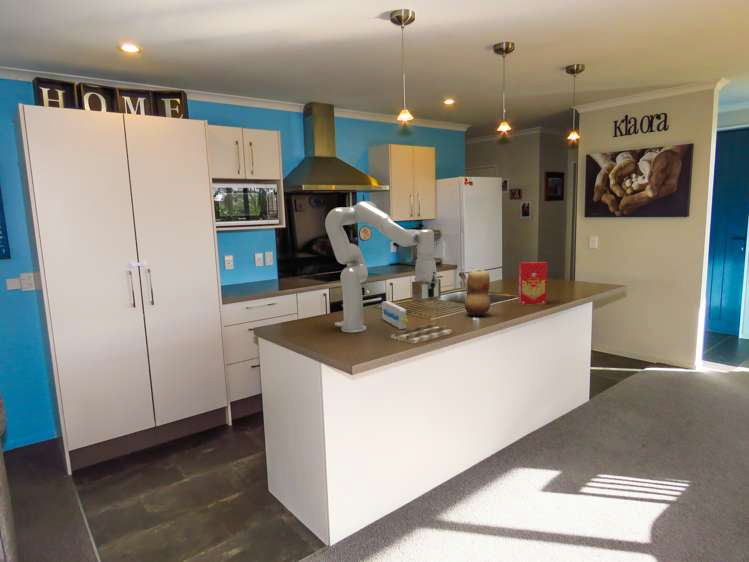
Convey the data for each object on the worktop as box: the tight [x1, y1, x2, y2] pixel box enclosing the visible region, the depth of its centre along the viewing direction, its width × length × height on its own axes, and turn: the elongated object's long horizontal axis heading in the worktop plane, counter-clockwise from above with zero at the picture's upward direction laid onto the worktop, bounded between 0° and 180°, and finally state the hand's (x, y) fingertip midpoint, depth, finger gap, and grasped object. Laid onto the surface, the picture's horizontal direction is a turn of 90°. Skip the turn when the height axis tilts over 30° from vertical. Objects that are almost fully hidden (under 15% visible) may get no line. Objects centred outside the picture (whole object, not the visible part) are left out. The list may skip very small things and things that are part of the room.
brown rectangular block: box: [411, 278, 442, 304], centre depth 219 cm, size 14×5×9 cm, turn 129°
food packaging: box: [518, 261, 548, 304], centre depth 283 cm, size 15×5×25 cm, turn 88°
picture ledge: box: [390, 322, 454, 345], centre depth 220 cm, size 26×14×3 cm, turn 129°
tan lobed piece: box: [464, 268, 491, 317], centre depth 257 cm, size 14×13×25 cm
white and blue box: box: [381, 300, 409, 330], centre depth 242 cm, size 32×4×10 cm, turn 19°
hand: (426, 295), depth 220 cm, fingers closed on brown rectangular block, 5 cm apart
